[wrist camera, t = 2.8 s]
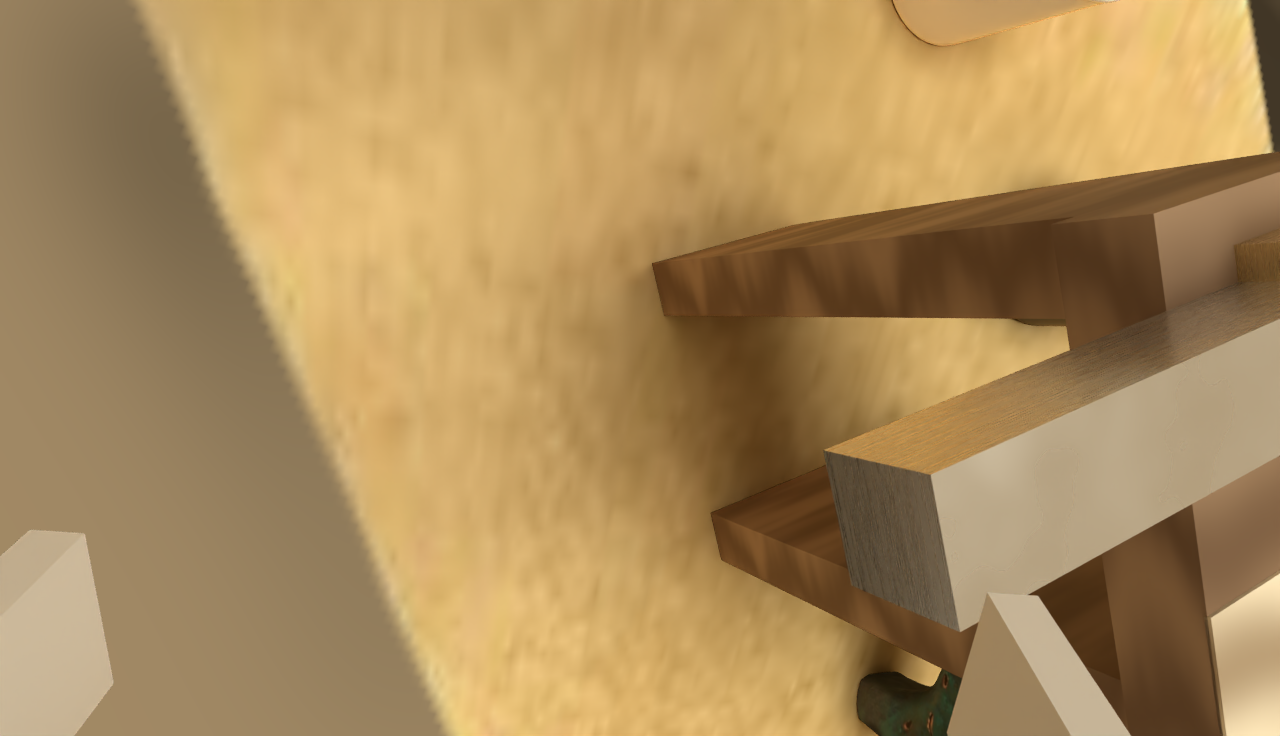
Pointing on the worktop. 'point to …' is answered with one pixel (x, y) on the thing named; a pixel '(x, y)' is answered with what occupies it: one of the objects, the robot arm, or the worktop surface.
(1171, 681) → the walnut shelf
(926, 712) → the dark green curved figure
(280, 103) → the worktop surface
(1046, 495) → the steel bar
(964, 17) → the candle holder
